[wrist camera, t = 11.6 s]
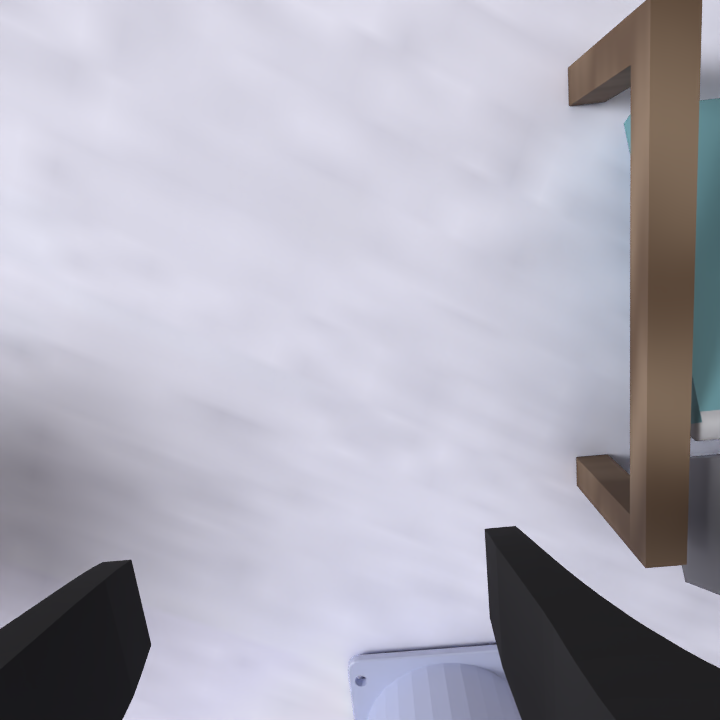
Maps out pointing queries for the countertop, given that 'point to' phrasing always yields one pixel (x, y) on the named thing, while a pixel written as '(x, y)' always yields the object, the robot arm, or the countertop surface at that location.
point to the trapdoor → (705, 358)
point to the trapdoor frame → (653, 270)
